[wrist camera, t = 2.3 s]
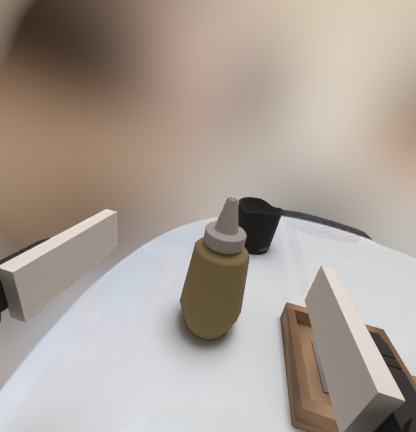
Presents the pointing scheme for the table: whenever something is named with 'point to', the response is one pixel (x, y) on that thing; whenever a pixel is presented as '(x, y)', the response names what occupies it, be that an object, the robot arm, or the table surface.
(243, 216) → the pen holder
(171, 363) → the table surface
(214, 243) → the squeeze bottle
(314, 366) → the wooden tray with handle
